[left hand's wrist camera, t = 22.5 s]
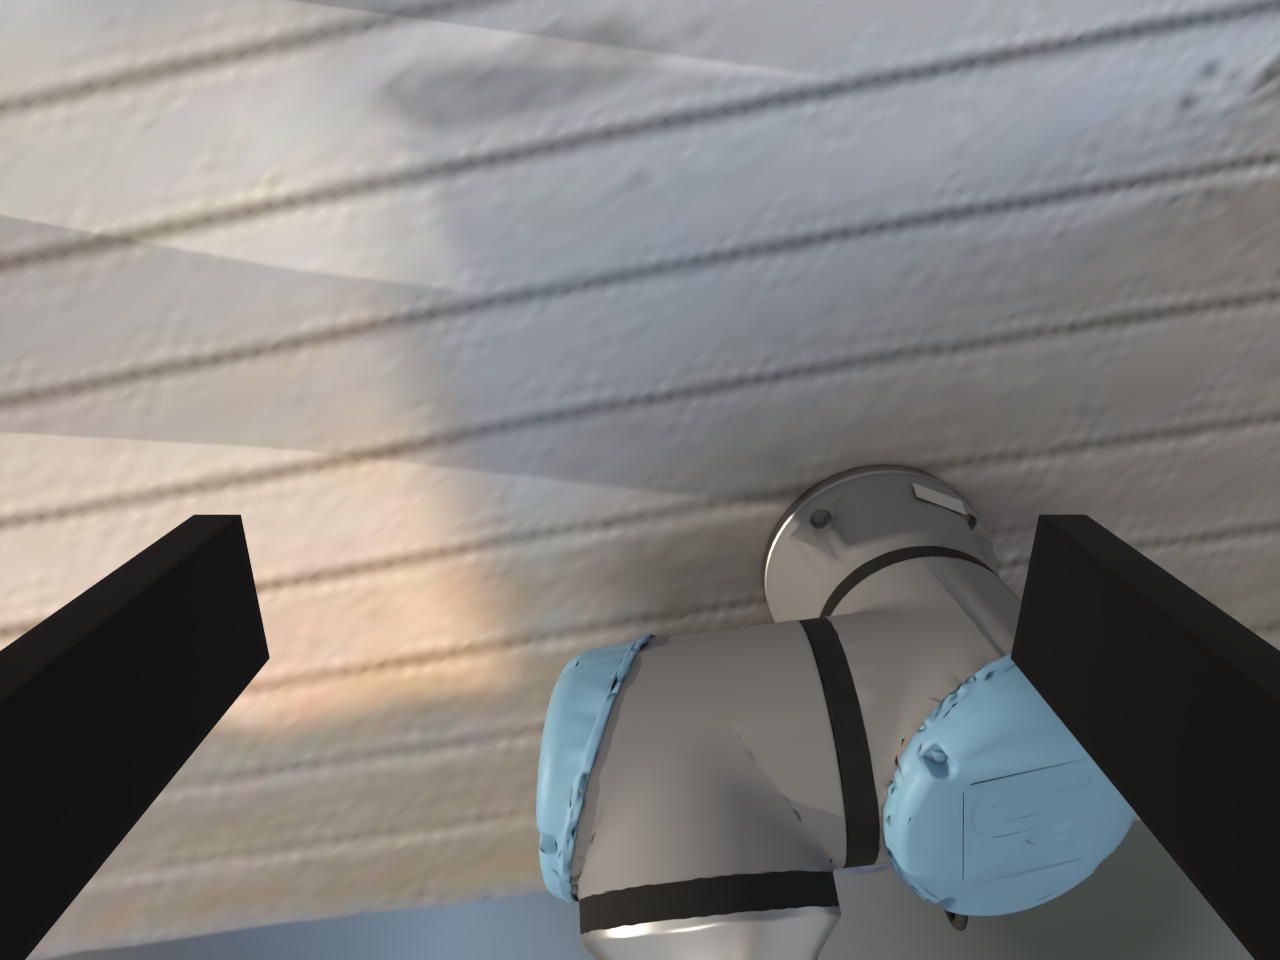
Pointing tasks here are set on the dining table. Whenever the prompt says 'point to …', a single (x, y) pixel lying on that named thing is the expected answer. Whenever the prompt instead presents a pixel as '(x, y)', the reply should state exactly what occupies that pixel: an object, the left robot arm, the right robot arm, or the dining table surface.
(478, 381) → the dining table surface
